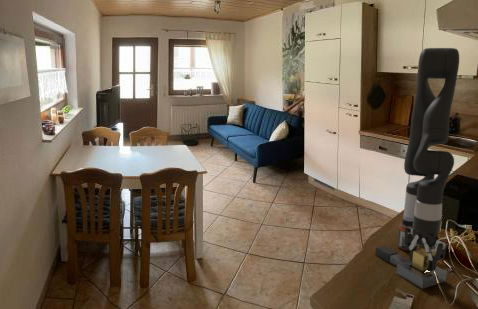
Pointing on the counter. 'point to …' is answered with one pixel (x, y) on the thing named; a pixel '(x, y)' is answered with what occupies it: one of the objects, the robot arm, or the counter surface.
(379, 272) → the counter surface
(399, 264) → the grey square paddle
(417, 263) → the peg
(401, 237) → the supplement bottle
